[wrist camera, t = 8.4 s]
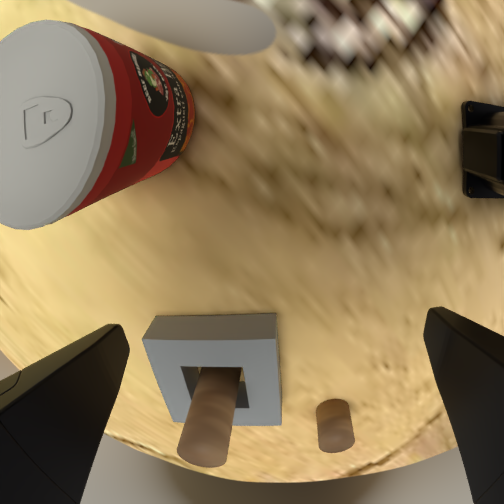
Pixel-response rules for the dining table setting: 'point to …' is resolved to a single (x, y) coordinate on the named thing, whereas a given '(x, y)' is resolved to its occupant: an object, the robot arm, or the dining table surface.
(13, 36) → the canned food
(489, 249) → the dining table surface
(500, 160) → the robot arm
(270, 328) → the socket block
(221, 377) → the long pin
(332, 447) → the short pin
